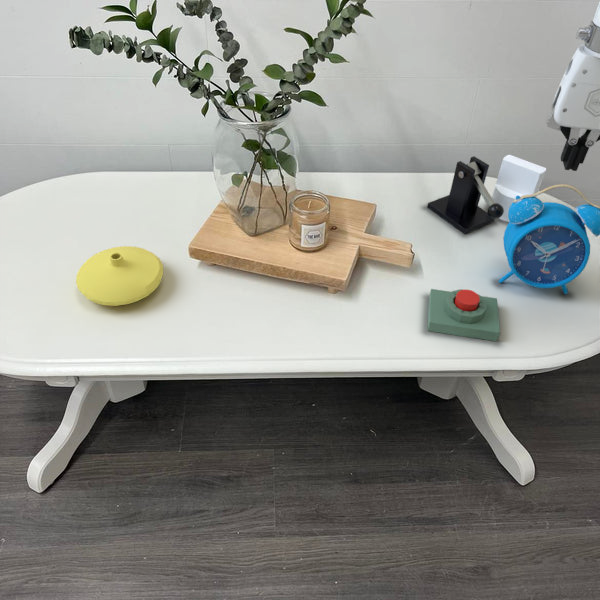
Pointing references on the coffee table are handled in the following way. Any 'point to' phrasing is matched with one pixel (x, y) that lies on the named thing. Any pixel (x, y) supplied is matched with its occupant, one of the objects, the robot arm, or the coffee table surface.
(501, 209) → the lever
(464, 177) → the bracket
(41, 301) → the coffee table surface
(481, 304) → the button box
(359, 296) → the coffee table surface
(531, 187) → the base with upright slab
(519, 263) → the alarm clock
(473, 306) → the button
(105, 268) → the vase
